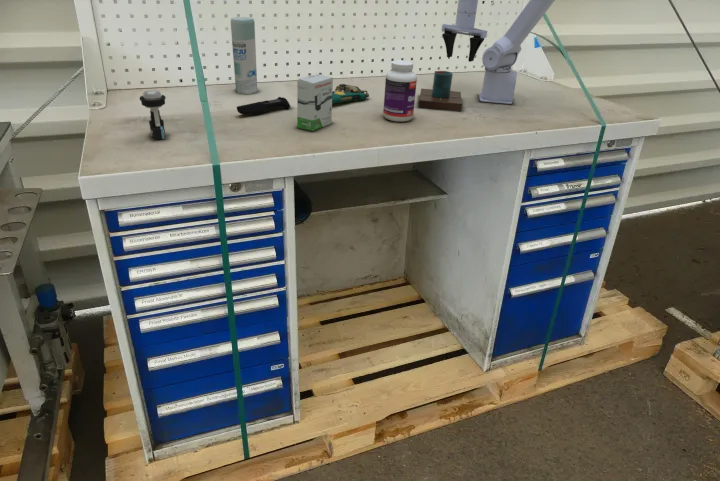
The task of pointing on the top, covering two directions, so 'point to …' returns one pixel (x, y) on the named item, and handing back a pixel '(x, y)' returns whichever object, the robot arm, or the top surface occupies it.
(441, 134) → the top surface
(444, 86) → the jar
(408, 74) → the pill bottle
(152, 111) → the push button
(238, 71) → the spray paint can
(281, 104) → the electric trimmer
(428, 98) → the stand
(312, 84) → the ink box
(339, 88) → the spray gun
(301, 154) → the top surface
